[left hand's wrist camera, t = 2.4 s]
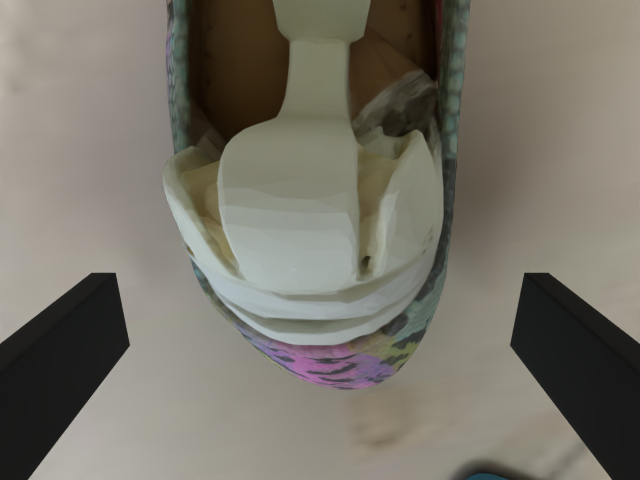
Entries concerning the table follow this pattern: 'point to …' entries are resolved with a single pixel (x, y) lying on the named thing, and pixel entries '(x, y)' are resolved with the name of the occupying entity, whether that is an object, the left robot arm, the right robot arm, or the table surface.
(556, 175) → the table surface
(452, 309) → the table surface
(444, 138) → the ballet flat
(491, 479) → the smartphone
